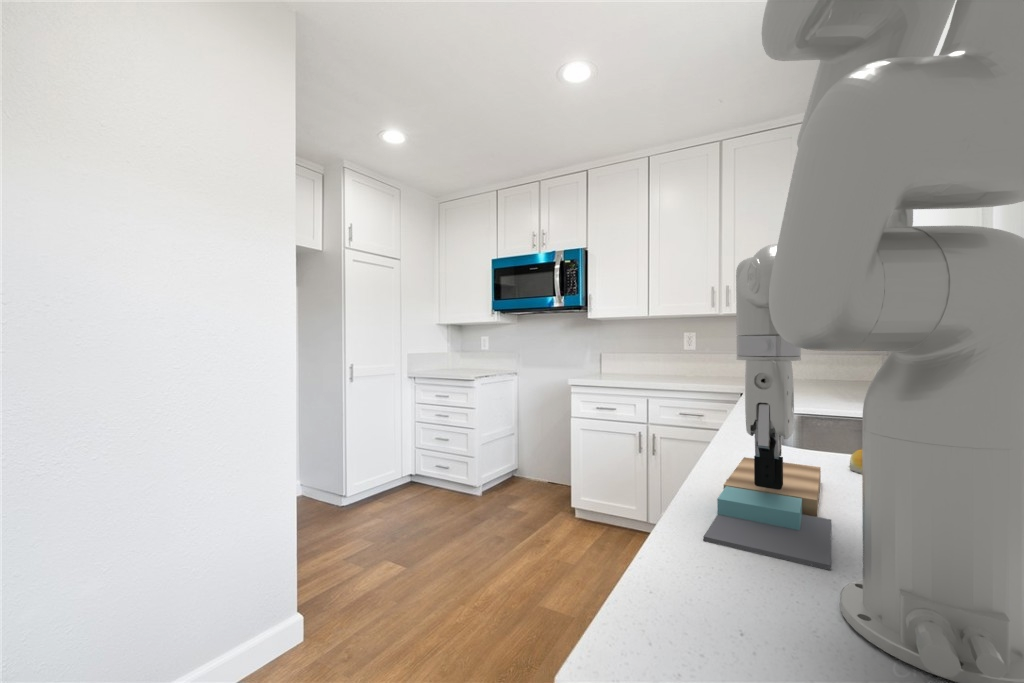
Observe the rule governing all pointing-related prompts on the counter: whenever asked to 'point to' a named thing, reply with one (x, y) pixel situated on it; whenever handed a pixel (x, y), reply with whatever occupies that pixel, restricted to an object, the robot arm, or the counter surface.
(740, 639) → the counter surface
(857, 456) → the bread roll
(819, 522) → the charcoal mat
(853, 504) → the counter surface
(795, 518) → the teal tile
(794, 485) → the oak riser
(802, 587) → the counter surface
